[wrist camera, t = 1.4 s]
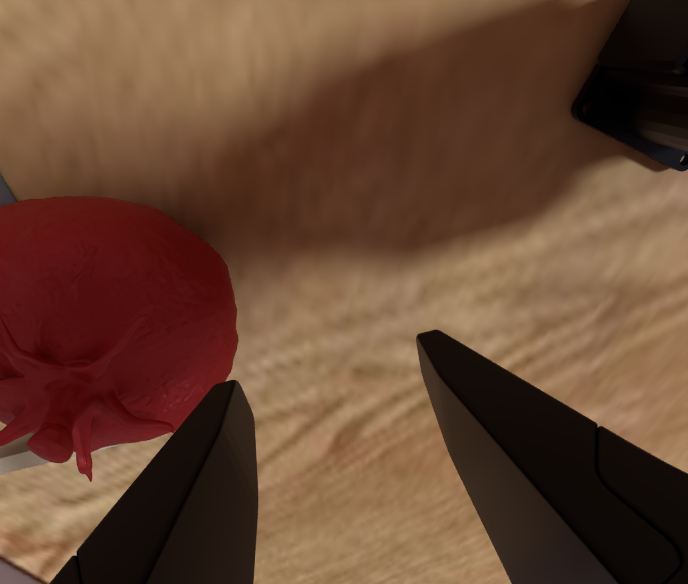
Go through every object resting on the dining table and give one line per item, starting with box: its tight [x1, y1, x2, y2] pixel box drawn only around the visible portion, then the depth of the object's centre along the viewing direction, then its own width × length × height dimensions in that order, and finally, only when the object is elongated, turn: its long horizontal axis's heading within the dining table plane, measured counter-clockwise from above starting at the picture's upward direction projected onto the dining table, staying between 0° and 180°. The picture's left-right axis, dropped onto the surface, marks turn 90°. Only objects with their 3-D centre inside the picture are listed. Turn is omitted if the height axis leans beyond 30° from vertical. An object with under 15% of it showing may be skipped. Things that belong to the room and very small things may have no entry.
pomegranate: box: [0, 196, 238, 482], centre depth 16 cm, size 10×10×9 cm
